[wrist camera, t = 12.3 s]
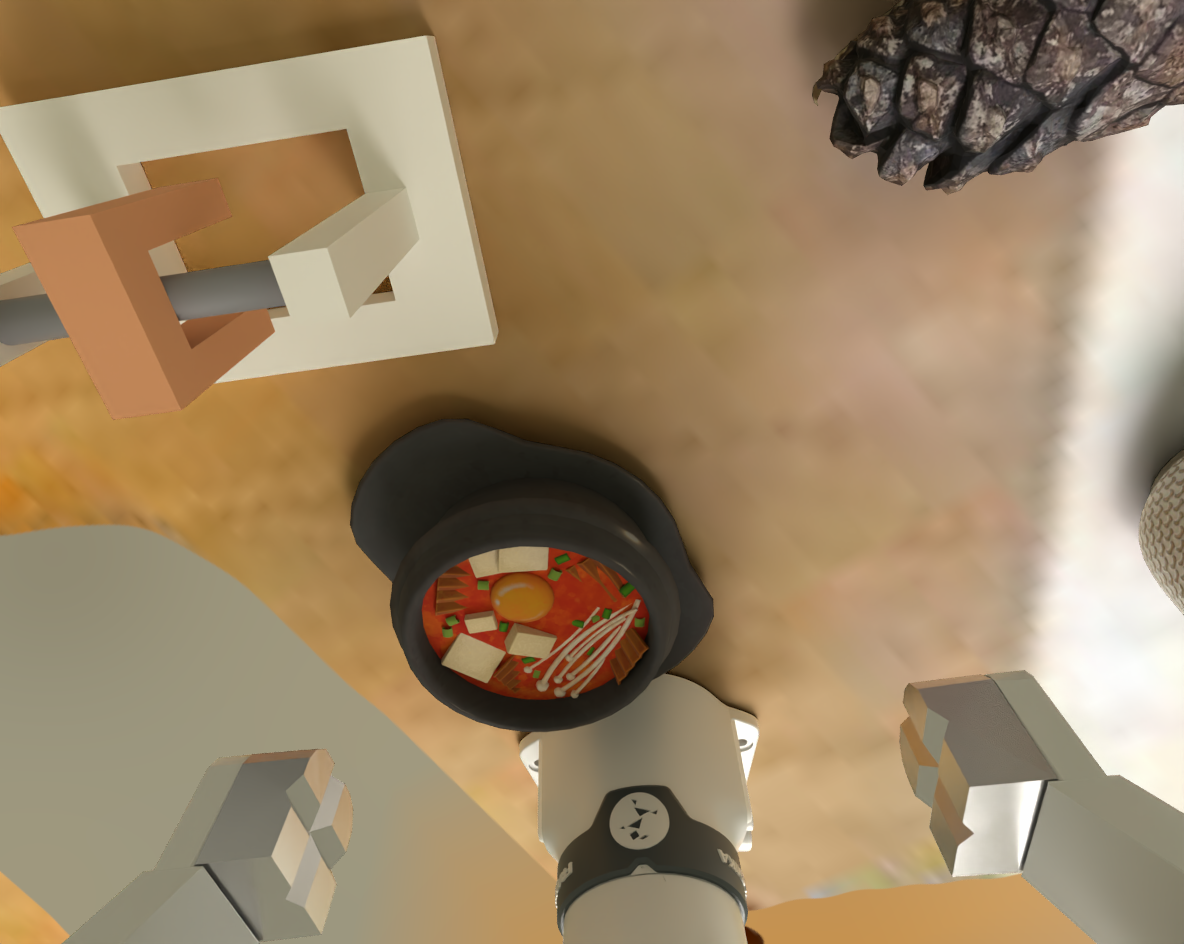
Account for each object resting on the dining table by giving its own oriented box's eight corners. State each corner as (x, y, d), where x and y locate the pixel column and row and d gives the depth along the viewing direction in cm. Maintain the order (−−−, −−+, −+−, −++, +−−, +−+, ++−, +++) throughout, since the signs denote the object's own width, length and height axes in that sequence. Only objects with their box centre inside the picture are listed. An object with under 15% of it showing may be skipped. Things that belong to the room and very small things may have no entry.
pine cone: (770, 65, 33) (836, 70, 24) (1174, -238, 28) (1440, -368, 19) (863, 251, 37) (947, 312, 29) (1227, 19, 32) (1463, 8, 24)
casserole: (772, 569, 48) (805, 660, 41) (589, 711, 55) (590, 812, 48) (474, 333, 39) (450, 397, 32) (302, 538, 46) (250, 629, 39)
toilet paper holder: (434, 36, 32) (345, 26, 20) (498, 331, 39) (460, 455, 27) (18, 106, 33) (-302, 137, 21) (153, 379, 40) (-29, 519, 28)
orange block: (275, 331, 32) (181, 410, 24) (222, 339, 32) (112, 419, 25) (217, 177, 29) (90, 214, 21) (159, 187, 29) (11, 227, 21)
